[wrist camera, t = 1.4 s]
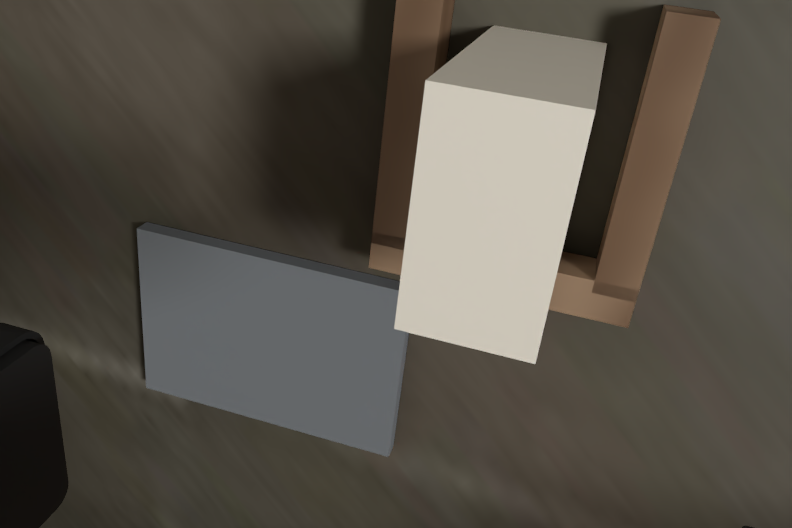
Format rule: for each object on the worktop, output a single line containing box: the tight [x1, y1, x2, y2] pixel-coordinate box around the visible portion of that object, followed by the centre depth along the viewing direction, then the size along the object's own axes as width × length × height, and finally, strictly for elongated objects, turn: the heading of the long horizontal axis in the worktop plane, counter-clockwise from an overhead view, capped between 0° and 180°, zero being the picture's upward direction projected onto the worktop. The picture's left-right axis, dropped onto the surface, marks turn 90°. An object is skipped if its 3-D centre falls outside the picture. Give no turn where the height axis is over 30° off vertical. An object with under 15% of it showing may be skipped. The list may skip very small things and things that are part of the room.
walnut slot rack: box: [369, 0, 721, 328], centre depth 26 cm, size 10×11×2 cm
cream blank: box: [394, 25, 607, 364], centre depth 23 cm, size 4×7×10 cm, turn 174°
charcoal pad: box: [137, 222, 409, 457], centre depth 34 cm, size 13×9×1 cm
